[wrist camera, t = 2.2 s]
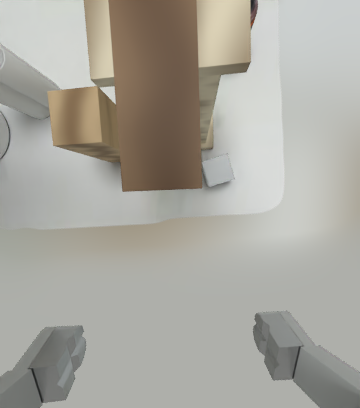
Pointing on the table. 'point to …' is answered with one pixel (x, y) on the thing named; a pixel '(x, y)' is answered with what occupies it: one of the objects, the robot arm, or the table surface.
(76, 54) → the table surface
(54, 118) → the oak post
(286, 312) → the robot arm
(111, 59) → the birch stand
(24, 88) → the vase
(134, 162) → the walnut rail
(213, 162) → the grey block
